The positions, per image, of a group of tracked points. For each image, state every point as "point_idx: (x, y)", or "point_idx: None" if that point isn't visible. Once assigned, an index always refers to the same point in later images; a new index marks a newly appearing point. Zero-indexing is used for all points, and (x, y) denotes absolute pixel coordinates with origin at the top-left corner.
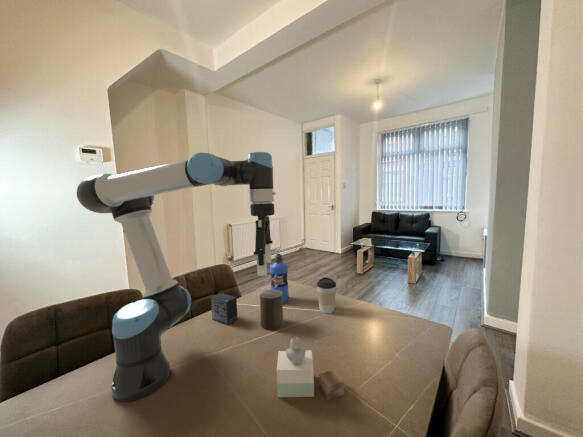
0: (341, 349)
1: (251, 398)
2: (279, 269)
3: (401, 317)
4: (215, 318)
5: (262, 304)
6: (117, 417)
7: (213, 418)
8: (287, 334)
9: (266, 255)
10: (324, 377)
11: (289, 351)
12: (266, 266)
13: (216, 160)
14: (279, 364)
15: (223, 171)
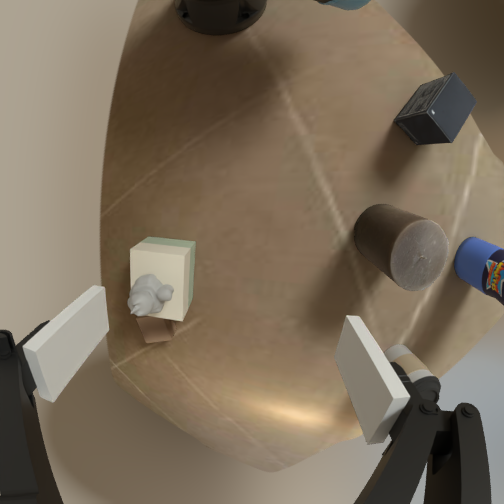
0: (254, 359)
1: (149, 192)
2: None
3: (320, 450)
4: (417, 91)
5: (394, 221)
6: (152, 10)
7: (122, 139)
8: (328, 266)
9: (354, 363)
10: (154, 320)
11: (139, 284)
12: (87, 354)
13: None
14: (144, 255)
15: None
